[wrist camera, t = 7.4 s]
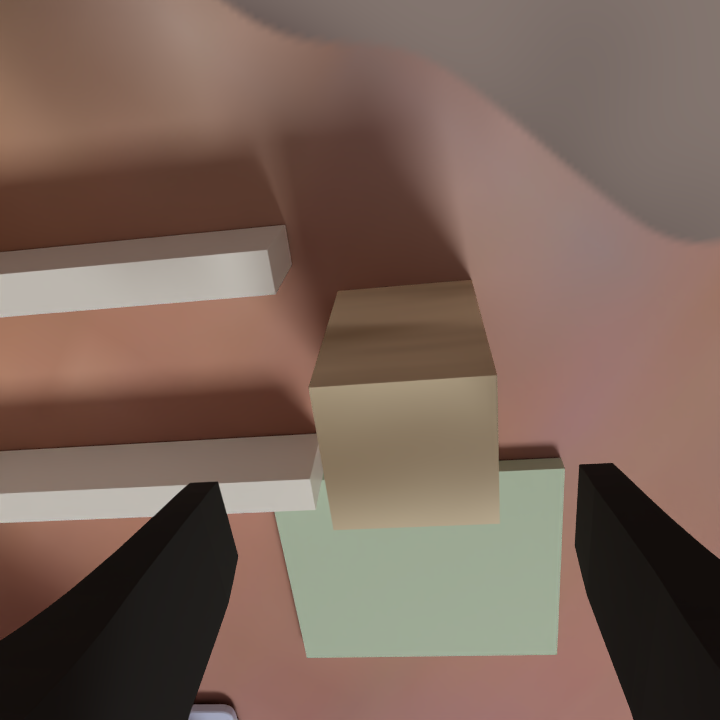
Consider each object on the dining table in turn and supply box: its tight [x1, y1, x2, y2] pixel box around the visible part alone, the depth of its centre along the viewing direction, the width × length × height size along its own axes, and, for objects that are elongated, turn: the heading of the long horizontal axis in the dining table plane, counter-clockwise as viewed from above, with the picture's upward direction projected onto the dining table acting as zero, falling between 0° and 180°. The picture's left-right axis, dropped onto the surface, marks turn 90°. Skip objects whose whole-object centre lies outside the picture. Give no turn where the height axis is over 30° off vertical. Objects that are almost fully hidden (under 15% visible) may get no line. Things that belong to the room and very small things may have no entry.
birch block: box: [309, 280, 500, 530], centre depth 16 cm, size 4×4×6 cm
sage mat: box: [275, 458, 565, 658], centre depth 23 cm, size 9×10×1 cm
